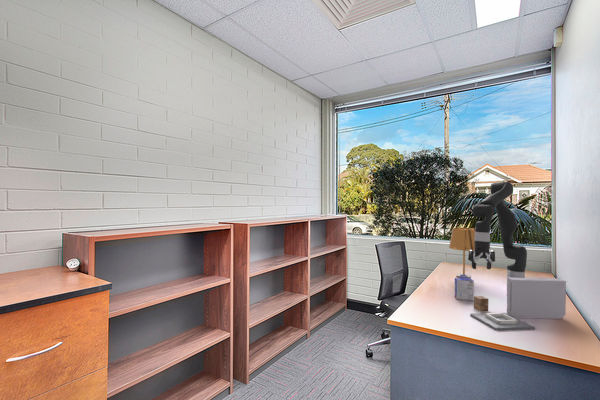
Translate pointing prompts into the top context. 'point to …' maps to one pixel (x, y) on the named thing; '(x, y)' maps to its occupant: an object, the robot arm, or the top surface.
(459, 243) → the lamp
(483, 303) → the walnut block
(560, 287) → the game console
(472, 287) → the ink cartridge box
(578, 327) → the top surface
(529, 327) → the baseplate
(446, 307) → the top surface
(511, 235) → the robot arm
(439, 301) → the top surface
